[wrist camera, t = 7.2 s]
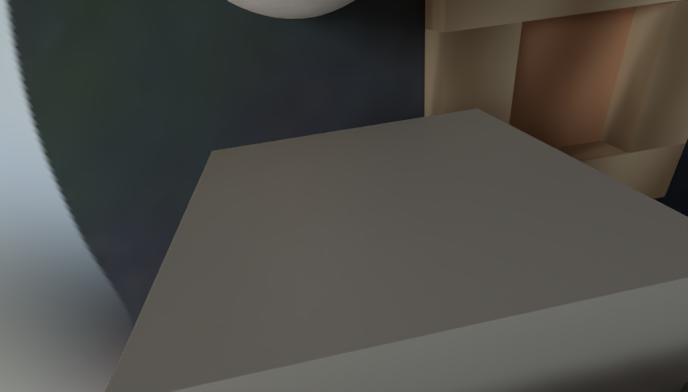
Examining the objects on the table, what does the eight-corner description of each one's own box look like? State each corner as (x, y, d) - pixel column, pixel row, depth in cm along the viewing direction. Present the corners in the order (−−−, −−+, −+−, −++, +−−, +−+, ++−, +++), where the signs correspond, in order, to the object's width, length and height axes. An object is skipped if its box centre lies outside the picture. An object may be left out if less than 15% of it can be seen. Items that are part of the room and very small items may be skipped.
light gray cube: (477, 108, 10) (769, 258, 4) (462, 297, 13) (604, 520, 7) (211, 151, 9) (98, 407, 3) (271, 338, 13) (266, 617, 7)
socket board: (721, -93, 14) (785, -107, 12) (630, 179, 20) (664, 196, 18) (425, -59, 13) (448, -69, 11) (424, 216, 19) (438, 238, 17)
